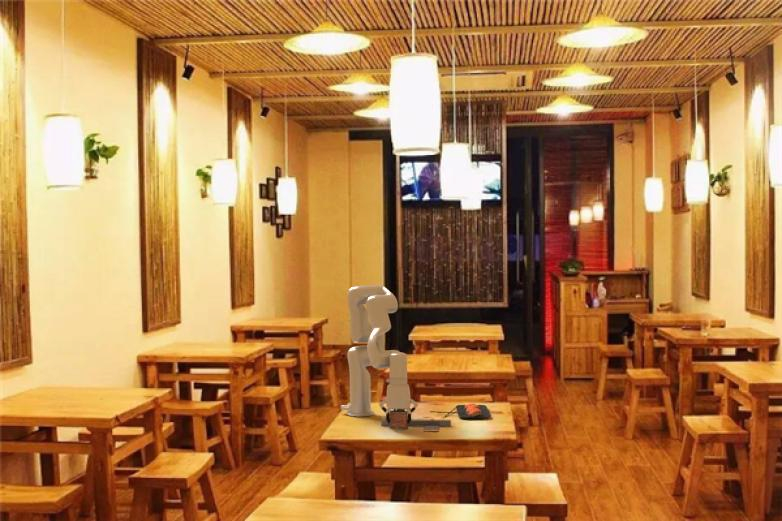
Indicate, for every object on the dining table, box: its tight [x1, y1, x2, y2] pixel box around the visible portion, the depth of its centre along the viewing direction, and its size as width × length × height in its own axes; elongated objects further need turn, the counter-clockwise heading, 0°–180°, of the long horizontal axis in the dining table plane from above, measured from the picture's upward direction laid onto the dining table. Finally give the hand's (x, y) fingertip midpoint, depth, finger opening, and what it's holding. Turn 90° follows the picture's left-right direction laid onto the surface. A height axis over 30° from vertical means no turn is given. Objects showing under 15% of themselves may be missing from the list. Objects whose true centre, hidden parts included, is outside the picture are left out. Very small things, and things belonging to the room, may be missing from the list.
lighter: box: [389, 409, 409, 431], centre depth 365 cm, size 8×3×10 cm, turn 71°
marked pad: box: [423, 425, 440, 433], centre depth 364 cm, size 6×11×1 cm, turn 175°
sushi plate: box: [429, 403, 492, 420], centre depth 396 cm, size 29×30×4 cm
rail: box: [380, 417, 452, 427], centre depth 371 cm, size 30×2×3 cm, turn 85°
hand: (398, 422), depth 365 cm, fingers closed on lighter, 8 cm apart
